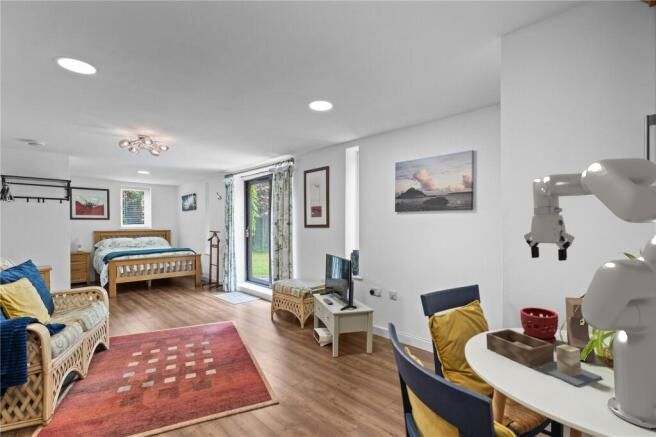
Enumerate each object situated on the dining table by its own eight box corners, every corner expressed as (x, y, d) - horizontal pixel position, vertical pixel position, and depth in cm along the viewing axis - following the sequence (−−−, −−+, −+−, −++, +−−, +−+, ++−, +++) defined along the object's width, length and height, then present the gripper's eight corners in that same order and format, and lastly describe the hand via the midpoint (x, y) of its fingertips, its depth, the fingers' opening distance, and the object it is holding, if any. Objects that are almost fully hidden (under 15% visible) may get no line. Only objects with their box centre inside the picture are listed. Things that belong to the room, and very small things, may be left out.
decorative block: (595, 363, 109) (592, 305, 110) (575, 360, 112) (572, 304, 112) (585, 350, 119) (583, 298, 120) (567, 348, 122) (565, 297, 122)
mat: (601, 378, 99) (601, 376, 99) (576, 386, 95) (576, 384, 95) (561, 362, 110) (561, 361, 110) (538, 369, 106) (538, 368, 106)
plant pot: (514, 338, 134) (513, 310, 134) (532, 332, 140) (531, 305, 140) (548, 349, 122) (546, 318, 122) (565, 341, 128) (564, 312, 128)
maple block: (581, 373, 101) (579, 349, 101) (572, 376, 100) (570, 351, 100) (566, 367, 106) (565, 344, 106) (557, 370, 104) (556, 346, 104)
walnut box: (554, 361, 112) (553, 344, 112) (530, 368, 108) (529, 350, 108) (509, 343, 129) (508, 328, 129) (487, 348, 125) (486, 333, 125)
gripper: (579, 210, 107) (581, 260, 107) (530, 212, 123) (532, 256, 123) (564, 211, 104) (567, 262, 104) (517, 213, 120) (519, 257, 120)
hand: (548, 259), depth 113 cm, fingers open, 9 cm apart
